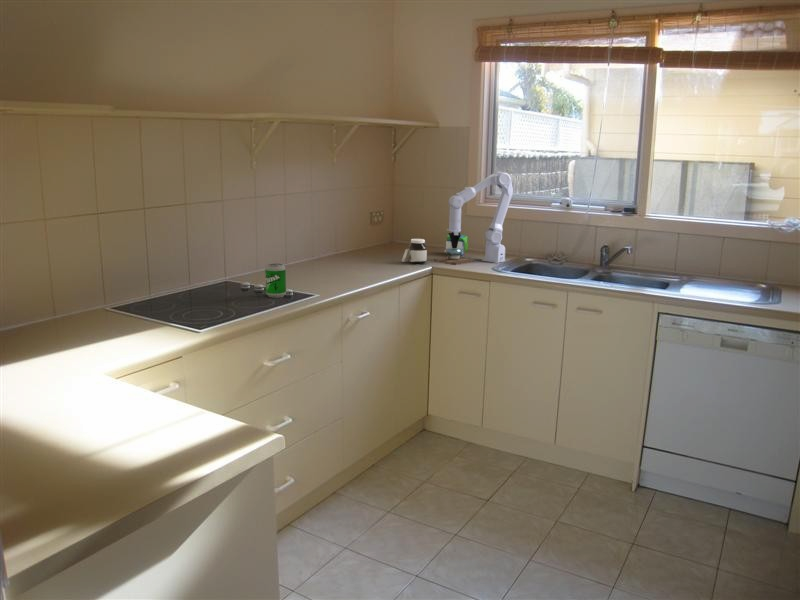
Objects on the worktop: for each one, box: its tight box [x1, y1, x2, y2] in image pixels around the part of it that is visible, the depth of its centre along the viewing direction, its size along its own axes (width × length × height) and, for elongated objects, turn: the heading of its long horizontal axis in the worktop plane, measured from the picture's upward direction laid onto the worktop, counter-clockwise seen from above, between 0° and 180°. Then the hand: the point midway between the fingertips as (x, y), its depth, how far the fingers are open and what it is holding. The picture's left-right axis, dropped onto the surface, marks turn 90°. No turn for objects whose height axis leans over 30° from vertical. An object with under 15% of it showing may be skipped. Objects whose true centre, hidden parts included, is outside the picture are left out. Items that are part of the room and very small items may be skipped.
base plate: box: [433, 254, 474, 265], centre depth 344 cm, size 14×14×4 cm
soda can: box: [264, 262, 287, 298], centre depth 262 cm, size 8×8×12 cm
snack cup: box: [446, 234, 469, 257], centre depth 362 cm, size 16×10×10 cm
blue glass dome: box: [444, 240, 463, 256], centre depth 343 cm, size 9×8×6 cm
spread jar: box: [401, 238, 428, 265], centre depth 336 cm, size 12×11×12 cm
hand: (454, 247), depth 343 cm, fingers closed on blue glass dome, 2 cm apart
